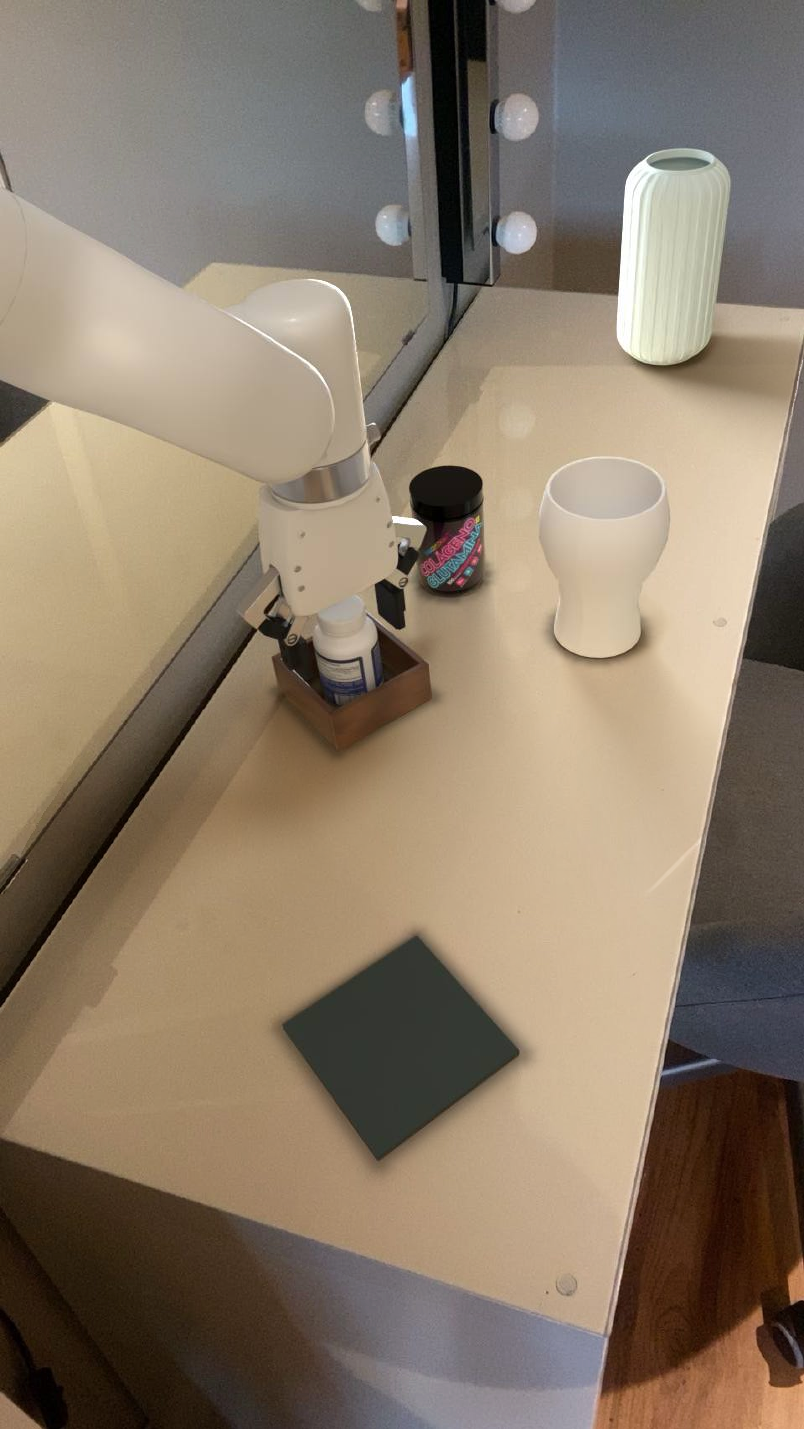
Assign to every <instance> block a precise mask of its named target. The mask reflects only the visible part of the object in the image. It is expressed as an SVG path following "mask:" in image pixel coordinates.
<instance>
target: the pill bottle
mask: <svg viewBox="0 0 804 1429" xmlns="http://www.w3.org/2000/svg"><path fill="white" fill-rule="evenodd" d="M365 610H366V606H365V602H364V600H363V599H362V598H361V597H360V595H359V596H358V595H357V594H354V595H352V596H350V597H348V598H346V599H344V600H342V601H340V602H338V603H336V604H334V605H332V606H330V607H328V608H326V609H324V610H322V611H320V612H318V613H315V615H316V620H317V624H316V626H315V627H314V630H313V633H312V636H313V644H314V650H315V655H316V659H317V665H318V670H319V674H318V676H319V680H320V685H321V690H322V694H323V699H324V700H325V701H326V702H327V703H328V704H329V705H330V706H331V707H332V708H333V709H334V710H336V709H338V708H340V707H342V706H343V705H345V704H347V703H349V702H351V701H353V700H354V699H356V698H358V697H360V696H362V695H363V694H365V693H367V692H369V691H371V690H373V689H374V688H376V687H378V686H380V685H382V684H383V683H385V678H384V670H383V662H382V661H381V655H380V648H379V641H378V635H377V630H376V626H375V624H374V623H373V621H372V620H371V619H370V618H369V617H367V616H366V611H367V610H366V611H365Z"/></svg>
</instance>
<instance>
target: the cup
mask: <svg viewBox="0 0 804 1429" xmlns="http://www.w3.org/2000/svg"><path fill="white" fill-rule="evenodd" d="M661 475H662V474H660V473H658V471H656V469H654V468H653V467H651V466H650V465H647V464H645V463H643V462H642V461H638V460H634V459H631V458H628V457H620V456H613V455H611V456H609V455H605V456H601V455H599V456H591V457H585V458H581V459H578V460H574V461H571V462H569V463H567V464H565V465H563V466H561V467H559V468H558V469H557V470H556V471H554V472H553V473H552V474H551V476H550V478H549V479H548V481H547V483H546V485H545V488H544V492H543V496H542V499H541V503H540V507H539V514H538V539H539V544H540V546H541V549H542V551H543V554H544V558H545V560H546V563H547V566H548V568H549V569H550V571H551V573H552V574H553V576H554V577H555V580H557V585H558V586H557V587H558V593H559V600H558V604H557V609H556V612H555V618H554V624H553V634H554V636H555V639H556V640H557V642H558V643H559V644H560V646H562V647H563V648H564V649H566V650H567V651H569V652H571V653H573V654H576V655H578V656H581V657H586V658H592V659H593V658H595V659H604V658H610V657H612V658H613V657H616V656H618V655H621V654H624V653H627V651H629V650H631V649H632V648H634V646H635V645H636V644H637V643H638V642H639V639H640V637H641V635H642V632H641V631H642V630H641V613H640V604H639V599H640V595H641V593H642V592H641V591H642V589H643V585H644V583H645V582H646V580H647V579H648V578H649V576H650V575H651V574H652V573H653V572H654V571H655V569H656V567H657V565H658V563H659V560H660V559H661V556H662V554H663V552H664V550H665V548H666V545H667V543H668V541H669V534H670V525H671V509H670V503H669V497H668V496H669V495H668V491H667V486H666V482H665V480H664V479H663V477H662V476H661Z"/></svg>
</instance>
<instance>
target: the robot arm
mask: <svg viewBox="0 0 804 1429" xmlns="http://www.w3.org/2000/svg"><path fill="white" fill-rule="evenodd" d="M0 381H2V382H4V383H6V384H8V385H11V386H13V387H16V388H19V389H21V390H23V391H25V392H27V393H30V394H32V395H35V396H37V397H40V398H42V399H45V400H47V401H50V402H53V403H56V404H59V405H62V406H66V407H69V408H72V409H76V410H79V411H81V412H84V413H89V414H91V415H95V416H98V417H100V418H104V419H107V420H109V421H113V422H115V423H118V424H120V425H124V426H126V427H128V428H131V429H133V430H135V431H138V432H141V433H144V434H146V435H149V436H151V437H153V438H156V439H158V440H161V441H163V442H166V443H167V444H171V445H172V446H175V447H177V448H180V449H182V450H185V451H187V452H189V453H192V454H194V455H197V456H199V457H201V458H203V459H206V460H208V461H210V462H213V463H215V464H216V465H217V464H218V465H220V466H222V467H225V468H227V469H229V470H230V471H233V472H236V473H239V474H240V475H243V476H245V477H247V478H249V479H251V480H253V481H256V482H259V483H262V484H264V485H263V486H261V487H260V488H259V491H258V500H257V502H258V503H257V528H258V541H259V542H258V543H259V551H260V559H261V566H262V573H263V575H262V577H261V578H260V579H259V580H258V581H257V582H256V584H254V586H253V587H252V588H251V589H250V591H249V592H248V593H247V594H246V595H245V597H244V598H243V599H242V600H241V601H240V602H239V603H238V604H237V606H236V609H235V611H236V614H238V616H240V617H241V618H242V619H243V620H244V621H245V622H246V623H247V624H248V625H250V626H251V627H253V628H254V629H256V630H257V631H258V632H259V633H261V635H263V636H265V637H267V638H270V639H274V640H276V641H277V643H278V646H279V651H280V652H281V656H282V660H283V662H284V664H285V665H286V667H287V668H288V669H289V670H291V671H292V670H294V669H295V670H296V671H297V672H298V673H299V674H300V675H301V676H302V677H303V678H304V679H305V680H307V679H309V678H311V677H312V675H313V671H312V666H311V661H310V656H309V651H308V645H307V642H306V640H305V639H306V638H304V637H303V636H302V633H303V631H304V629H305V627H306V624H307V622H308V620H309V618H310V616H313V615H316V613H318V612H320V611H322V610H324V609H326V608H328V607H330V606H332V605H334V604H336V603H338V602H340V601H342V600H344V599H346V598H348V597H350V596H352V595H354V594H355V595H357V594H358V593H360V592H362V591H364V590H367V589H368V588H370V587H372V586H374V592H375V599H376V600H375V601H376V608H377V613H378V616H380V617H381V618H382V619H383V620H384V621H385V622H386V623H388V624H389V625H390V626H392V627H393V628H394V629H395V630H398V631H402V630H403V629H405V628H406V626H407V624H406V616H405V612H406V609H407V608H406V598H405V588H407V586H408V585H409V583H410V577H409V574H410V572H411V571H412V569H413V567H414V566H415V564H416V561H417V559H418V557H419V553H418V548H420V546H421V544H422V541H423V538H424V536H425V533H426V526H424V525H423V524H422V523H420V522H419V521H417V520H416V519H412V518H409V517H400V516H393V512H392V507H391V503H390V501H389V496H388V493H387V490H386V487H385V484H384V481H383V480H382V476H381V473H380V471H379V469H378V466H377V464H376V463H375V461H373V460H372V454H371V447H372V446H373V445H374V443H376V442H379V441H380V440H381V438H382V433H381V431H380V428H379V427H378V425H377V424H376V423H375V422H371V423H368V424H367V425H366V417H365V409H364V402H363V393H362V386H361V385H362V384H361V377H360V367H359V359H358V351H357V343H356V334H355V326H354V320H353V314H352V309H351V305H350V302H349V300H348V299H347V296H346V295H345V294H344V293H343V291H341V290H340V289H339V287H337V286H335V285H333V284H331V283H329V282H327V281H323V280H320V279H319V280H318V279H313V278H312V279H311V278H295V279H287V280H281V281H277V282H273V283H269V284H266V285H264V286H262V287H260V288H258V289H256V290H254V291H253V292H252V293H250V294H249V295H248V296H247V297H246V298H245V299H244V300H243V301H242V302H240V303H238V304H234V305H231V306H228V307H224V308H220V307H218V306H215V305H214V304H213V303H210V302H209V301H206V300H205V299H203V298H201V297H199V296H197V295H195V294H193V293H191V292H190V291H187V290H185V289H183V288H182V287H180V286H178V285H177V284H174V283H172V282H170V281H169V280H167V279H165V278H163V277H161V276H159V275H158V274H155V273H154V272H152V271H150V270H149V269H147V268H146V267H143V266H142V265H140V264H138V263H136V262H135V261H133V260H131V259H130V258H128V257H127V256H125V255H124V254H122V253H120V252H119V251H117V250H115V249H113V248H112V247H110V246H108V245H106V244H104V243H102V242H101V241H99V240H97V239H95V238H93V237H92V236H89V235H88V234H86V233H84V232H82V231H80V230H78V229H77V228H74V227H72V226H70V225H69V224H66V223H65V222H64V221H61V220H60V219H58V218H57V217H55V216H54V215H51V214H50V213H48V212H46V211H45V210H43V209H42V208H39V207H38V206H36V205H34V204H32V203H31V202H28V201H27V200H26V199H24V198H22V197H21V196H19V195H17V194H16V193H14V192H12V191H11V190H9V189H7V188H5V187H4V186H2V185H0ZM397 538H400V542H399V543H398V539H397ZM276 596H279V597H278V599H277V602H276V604H275V606H274V608H273V610H272V613H271V615H270V614H267V613H264V612H265V610H266V608H267V607H268V606H269V605H270V603H271V602H273V600H274V599H275V598H276ZM291 612H292V614H291ZM290 614H291V616H290ZM289 616H290V619H289V621H288V618H289ZM280 652H279V653H280ZM311 679H312V678H311ZM309 680H310V679H309ZM307 681H308V680H307Z"/></svg>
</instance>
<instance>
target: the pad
mask: <svg viewBox="0 0 804 1429" xmlns="http://www.w3.org/2000/svg"><path fill="white" fill-rule="evenodd" d="M281 1026H282V1029H283V1030H284V1032H285V1034H286V1035H287V1036H288V1038H289V1039H290V1040H291V1042H292V1043H293V1044H294V1046H295V1047H296V1048H297V1051H298V1052H300V1055H301V1056H302V1057H303V1058H304V1060H305V1061H306V1063H307V1064H308V1065H309V1067H310V1068H311V1070H312V1071H313V1072H314V1074H315V1075H316V1077H317V1078H318V1079H319V1081H320V1083H321V1084H322V1085H323V1087H324V1088H325V1090H326V1091H327V1092H328V1093H329V1095H330V1096H331V1098H332V1099H333V1100H334V1102H335V1103H336V1105H337V1106H338V1107H339V1109H340V1110H341V1111H342V1113H343V1114H344V1116H345V1118H346V1119H347V1120H348V1122H349V1123H350V1125H351V1126H352V1127H353V1128H354V1130H355V1131H356V1133H357V1134H358V1136H359V1137H360V1138H361V1140H362V1141H363V1143H364V1144H365V1145H366V1147H367V1148H368V1150H369V1151H370V1152H371V1154H372V1155H373V1156H374V1159H376V1161H380V1160H382V1159H383V1158H384V1157H385V1156H386V1155H388V1154H389V1153H390V1152H392V1151H393V1150H394V1149H396V1148H397V1147H399V1146H400V1145H401V1144H402V1143H404V1142H405V1141H406V1140H408V1139H409V1138H410V1137H412V1136H413V1135H415V1134H416V1133H417V1132H418V1131H419V1130H421V1129H422V1128H424V1127H425V1126H426V1125H427V1124H429V1123H430V1122H432V1121H433V1120H434V1119H436V1118H437V1117H438V1116H440V1115H441V1114H442V1113H444V1112H445V1111H446V1110H448V1109H449V1108H450V1107H451V1106H453V1105H454V1104H455V1103H457V1102H458V1101H459V1100H460V1099H462V1098H463V1097H464V1096H466V1095H468V1094H469V1093H470V1092H472V1091H473V1090H474V1089H475V1088H477V1087H479V1085H481V1084H482V1083H483V1082H485V1081H487V1079H489V1078H490V1077H491V1076H493V1075H494V1074H495V1073H497V1072H498V1071H500V1070H501V1069H502V1068H504V1066H506V1065H507V1064H509V1063H510V1062H511V1061H513V1060H514V1059H515V1058H517V1057H518V1056H519V1055H520V1049H519V1048H517V1046H516V1045H515V1044H514V1043H513V1041H512V1040H510V1037H508V1036H507V1035H506V1034H505V1033H504V1032H503V1030H502V1029H501V1028H500V1027H499V1026H498V1025H497V1024H496V1022H495V1021H494V1020H493V1019H492V1018H491V1017H490V1016H489V1015H488V1013H487V1012H486V1011H485V1010H484V1009H483V1008H482V1007H481V1006H480V1005H479V1003H478V1002H477V1001H476V1000H475V999H474V998H473V996H471V995H470V993H469V992H468V991H467V990H466V989H465V987H463V985H462V984H461V983H460V982H459V981H458V980H457V979H456V978H455V976H454V975H453V974H452V973H451V972H450V971H449V970H448V969H447V968H446V966H445V965H444V964H443V962H441V961H440V959H439V958H438V957H437V956H436V955H435V954H434V953H433V951H431V949H430V948H429V947H428V946H427V945H426V944H425V943H424V941H423V940H422V939H421V938H420V937H419V936H418V935H414V936H413V937H411V938H410V939H408V940H406V941H405V942H404V943H402V944H401V945H400V946H398V947H396V948H395V949H394V950H392V951H391V952H389V953H388V954H386V955H384V956H383V957H381V958H380V959H379V960H377V961H375V962H374V963H372V964H371V965H370V966H367V967H366V968H365V969H363V970H361V972H359V973H357V974H356V975H354V976H353V977H351V978H350V979H349V980H347V981H346V982H344V983H343V984H341V985H340V986H338V987H337V988H335V989H334V990H331V991H330V992H329V993H327V994H326V995H325V996H323V997H321V998H320V999H318V1000H317V1001H316V1002H314V1003H313V1004H311V1005H310V1006H308V1007H306V1008H305V1009H303V1010H302V1011H301V1012H299V1013H298V1014H296V1015H294V1016H293V1017H292V1018H290V1019H289V1020H287V1021H286V1022H283V1024H282V1025H281Z"/></svg>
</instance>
